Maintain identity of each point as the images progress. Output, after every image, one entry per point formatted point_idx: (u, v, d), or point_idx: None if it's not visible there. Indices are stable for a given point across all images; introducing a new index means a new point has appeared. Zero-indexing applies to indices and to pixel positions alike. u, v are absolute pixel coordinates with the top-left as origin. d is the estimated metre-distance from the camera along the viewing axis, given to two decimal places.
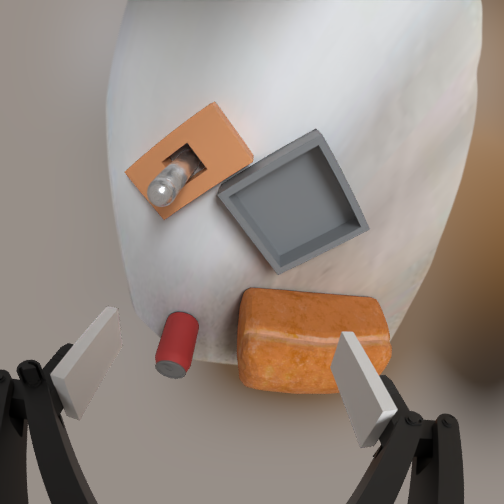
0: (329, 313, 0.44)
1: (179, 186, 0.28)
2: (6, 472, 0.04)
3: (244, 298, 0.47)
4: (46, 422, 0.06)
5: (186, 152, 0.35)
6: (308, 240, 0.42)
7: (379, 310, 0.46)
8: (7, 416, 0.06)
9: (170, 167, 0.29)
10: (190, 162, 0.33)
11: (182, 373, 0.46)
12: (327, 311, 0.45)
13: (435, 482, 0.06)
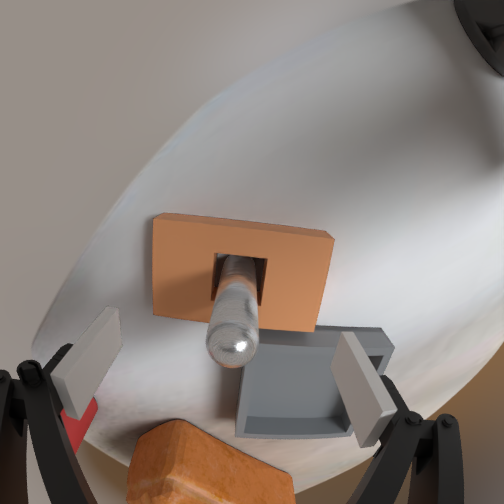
0: (254, 482, 0.31)
1: None
2: (6, 472, 0.04)
3: (176, 432, 0.31)
4: (46, 422, 0.06)
5: (250, 264, 0.25)
6: (284, 417, 0.32)
7: (293, 490, 0.35)
8: (7, 416, 0.06)
9: (250, 297, 0.18)
10: None
11: None
12: (253, 479, 0.31)
13: (435, 482, 0.06)
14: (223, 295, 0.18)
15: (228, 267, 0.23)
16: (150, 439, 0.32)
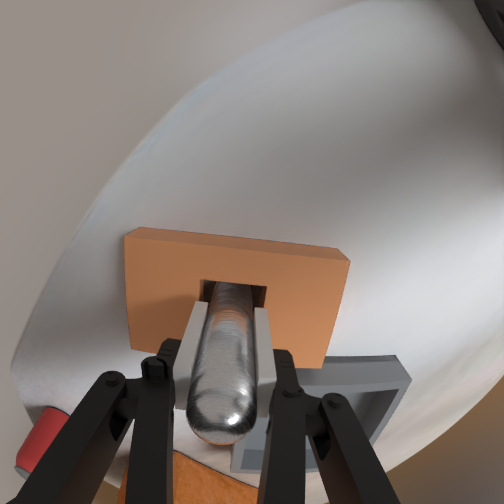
0: None
1: None
2: (81, 474, 0.06)
3: None
4: (156, 420, 0.08)
5: (246, 292, 0.20)
6: None
7: None
8: (107, 421, 0.08)
9: (244, 346, 0.14)
10: None
11: None
12: None
13: (346, 469, 0.07)
14: (209, 343, 0.13)
15: (217, 297, 0.18)
16: None
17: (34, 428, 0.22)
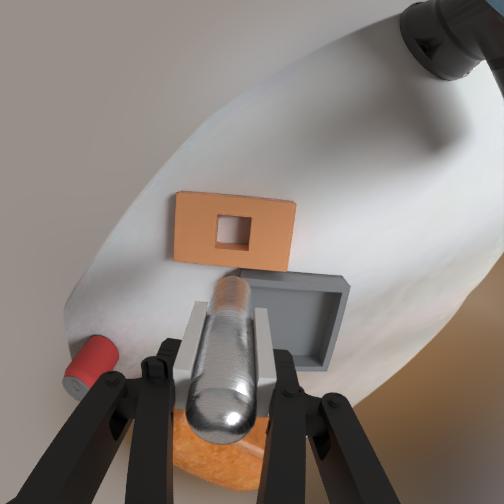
0: None
1: None
2: (81, 474, 0.06)
3: None
4: (156, 420, 0.08)
5: (246, 292, 0.20)
6: None
7: None
8: (107, 421, 0.08)
9: (244, 346, 0.14)
10: None
11: None
12: None
13: (345, 469, 0.07)
14: (209, 343, 0.13)
15: (217, 297, 0.18)
16: None
17: (82, 349, 0.39)
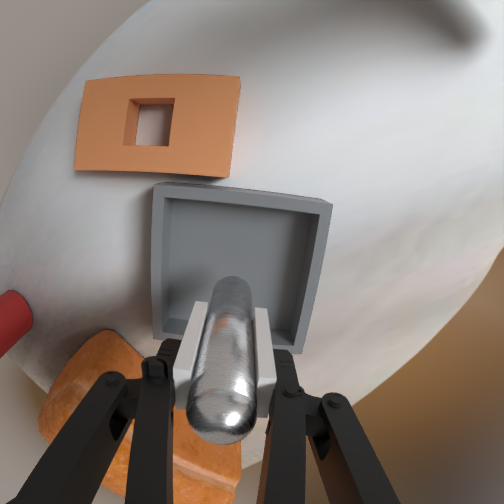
0: (186, 424, 0.28)
1: None
2: (81, 474, 0.06)
3: (100, 339, 0.28)
4: (156, 420, 0.08)
5: (246, 292, 0.20)
6: None
7: (239, 450, 0.32)
8: (107, 421, 0.08)
9: (244, 346, 0.14)
10: None
11: None
12: (185, 420, 0.29)
13: (346, 469, 0.07)
14: (209, 344, 0.13)
15: (217, 298, 0.18)
16: (76, 353, 0.29)
17: None
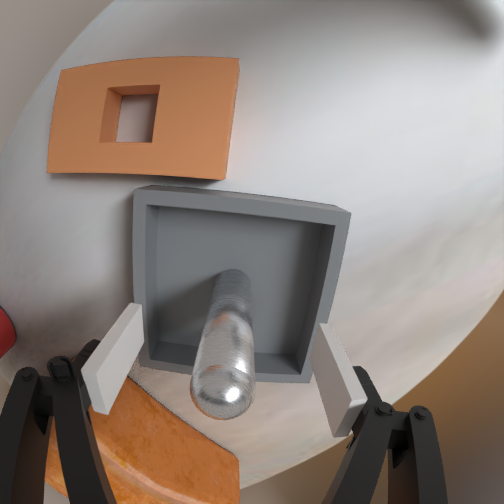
0: (180, 454, 0.24)
1: None
2: (24, 470, 0.05)
3: None
4: (73, 419, 0.07)
5: (245, 283, 0.21)
6: None
7: (237, 476, 0.28)
8: (31, 415, 0.07)
9: (244, 330, 0.15)
10: None
11: None
12: (179, 450, 0.24)
13: (414, 476, 0.06)
14: (211, 328, 0.15)
15: (219, 288, 0.20)
16: None
17: None
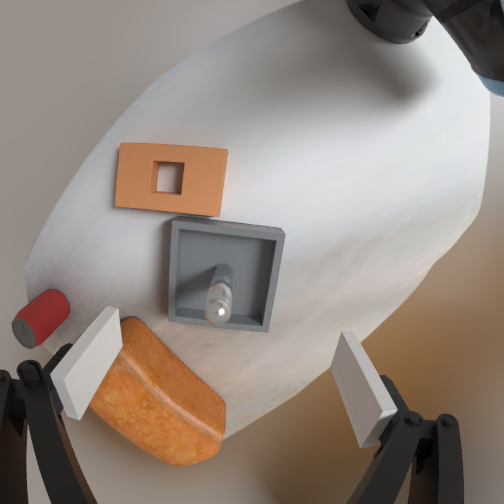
0: (187, 386, 0.42)
1: None
2: (6, 472, 0.04)
3: (129, 323, 0.42)
4: (46, 422, 0.06)
5: (230, 271, 0.40)
6: None
7: (224, 413, 0.46)
8: (7, 416, 0.06)
9: (227, 289, 0.34)
10: None
11: (31, 345, 0.33)
12: (187, 384, 0.43)
13: (435, 482, 0.06)
14: (213, 287, 0.33)
15: (216, 272, 0.38)
16: None
17: (35, 299, 0.38)
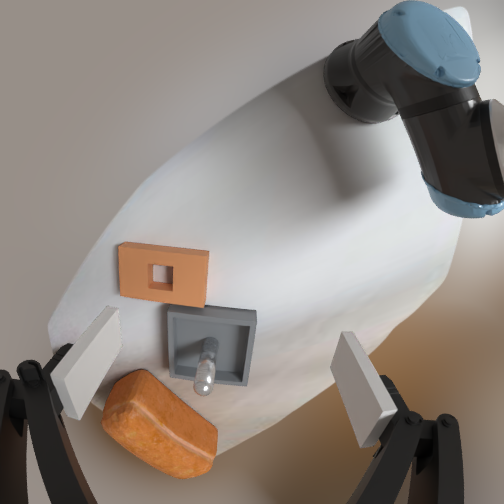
0: (186, 422, 0.52)
1: None
2: (6, 472, 0.04)
3: (140, 376, 0.51)
4: (46, 422, 0.06)
5: (215, 345, 0.49)
6: None
7: (216, 438, 0.56)
8: (7, 416, 0.06)
9: (211, 367, 0.43)
10: (216, 358, 0.47)
11: None
12: (186, 420, 0.52)
13: (435, 482, 0.06)
14: (200, 366, 0.42)
15: (204, 348, 0.47)
16: (123, 382, 0.52)
17: None
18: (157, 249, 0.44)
